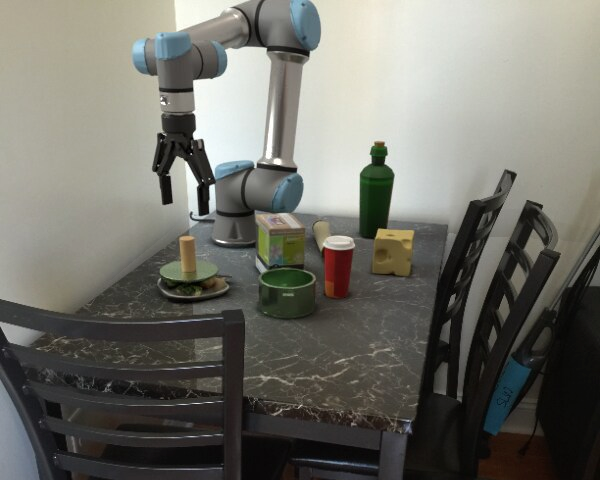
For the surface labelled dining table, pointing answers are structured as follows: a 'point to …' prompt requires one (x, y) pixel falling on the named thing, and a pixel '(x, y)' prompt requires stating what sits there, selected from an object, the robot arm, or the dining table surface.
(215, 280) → the salad plate
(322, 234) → the rolling pin
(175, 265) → the lid
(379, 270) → the cheese
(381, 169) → the bottle
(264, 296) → the pot
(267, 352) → the dining table surface
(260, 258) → the tea box
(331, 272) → the paper cup
